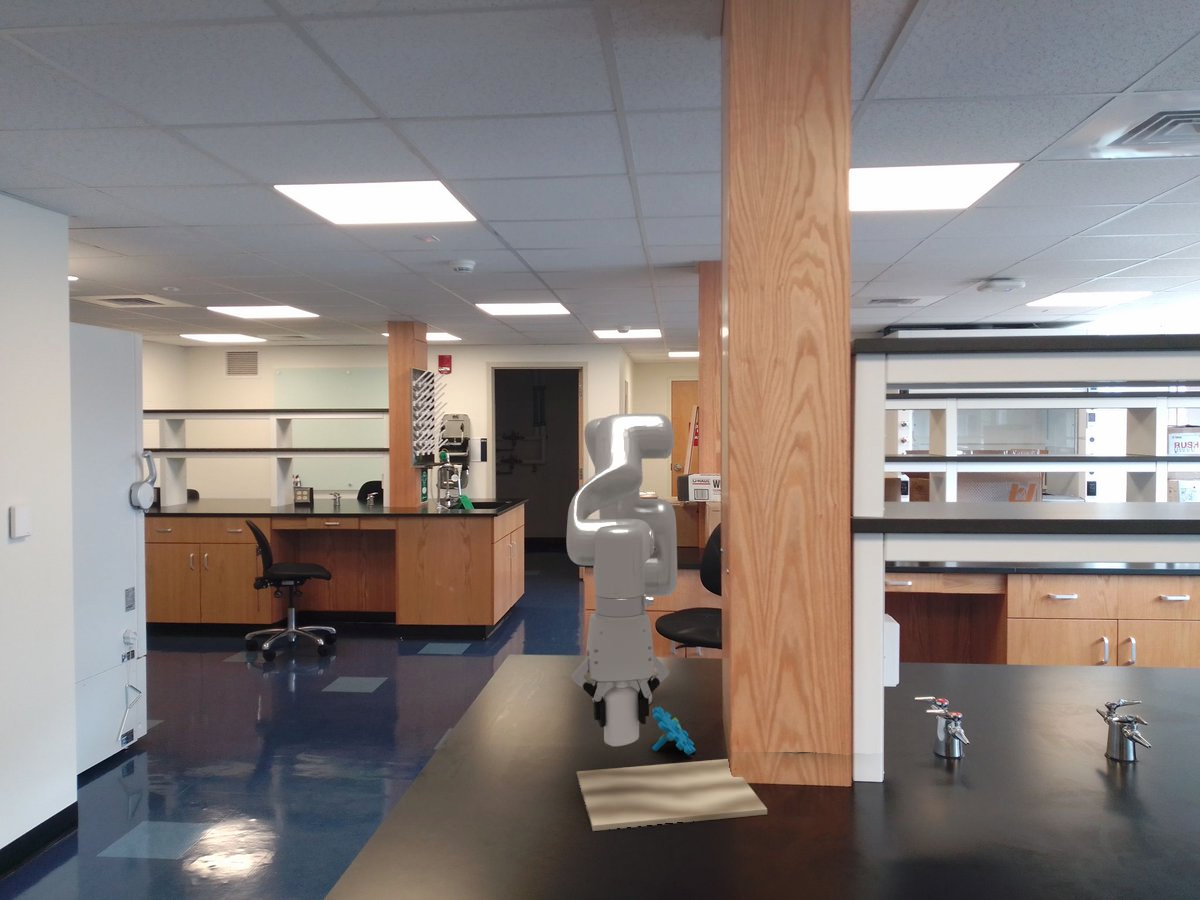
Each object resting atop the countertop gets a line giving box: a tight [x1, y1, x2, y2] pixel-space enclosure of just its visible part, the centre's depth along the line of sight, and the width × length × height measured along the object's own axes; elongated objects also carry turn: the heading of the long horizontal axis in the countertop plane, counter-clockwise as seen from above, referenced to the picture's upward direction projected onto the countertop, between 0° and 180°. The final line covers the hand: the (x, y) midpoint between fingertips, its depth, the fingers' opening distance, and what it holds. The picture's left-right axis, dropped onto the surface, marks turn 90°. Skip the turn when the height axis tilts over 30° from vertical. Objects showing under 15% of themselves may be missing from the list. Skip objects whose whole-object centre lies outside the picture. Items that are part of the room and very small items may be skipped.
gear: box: [651, 706, 696, 756], centre depth 139 cm, size 11×6×10 cm
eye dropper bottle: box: [603, 681, 640, 747], centre depth 121 cm, size 4×6×12 cm
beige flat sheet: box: [576, 758, 768, 832], centre depth 122 cm, size 18×26×1 cm
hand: (621, 721), depth 121 cm, fingers closed on eye dropper bottle, 5 cm apart
